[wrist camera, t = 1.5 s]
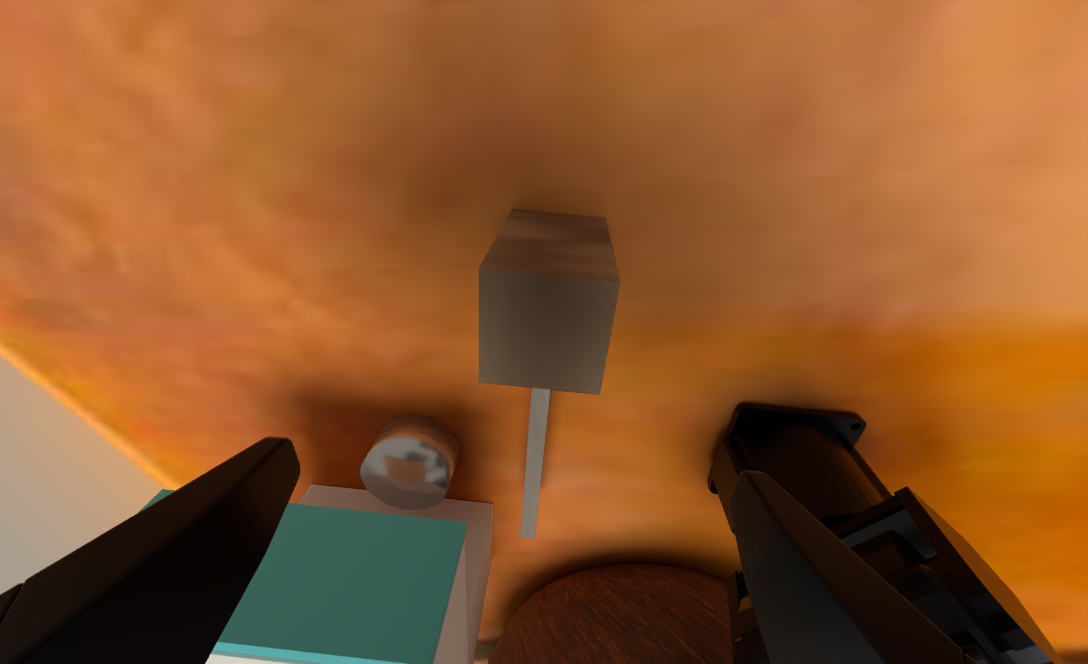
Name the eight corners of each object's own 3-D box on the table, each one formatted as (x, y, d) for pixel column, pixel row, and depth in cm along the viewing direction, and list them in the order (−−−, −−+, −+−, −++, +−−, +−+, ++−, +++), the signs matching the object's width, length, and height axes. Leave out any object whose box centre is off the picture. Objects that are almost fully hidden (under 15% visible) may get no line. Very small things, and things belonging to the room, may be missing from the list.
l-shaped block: (497, 400, 23) (427, 670, 12) (492, 559, 30) (446, 817, 20) (278, 377, 23) (22, 623, 13) (326, 540, 31) (189, 786, 20)
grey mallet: (605, 218, 18) (619, 282, 12) (564, 489, 26) (561, 608, 20) (511, 209, 18) (479, 268, 12) (501, 483, 26) (478, 599, 20)
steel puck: (459, 417, 24) (445, 453, 22) (460, 475, 27) (449, 514, 24) (376, 409, 24) (354, 444, 22) (385, 467, 27) (366, 505, 24)
